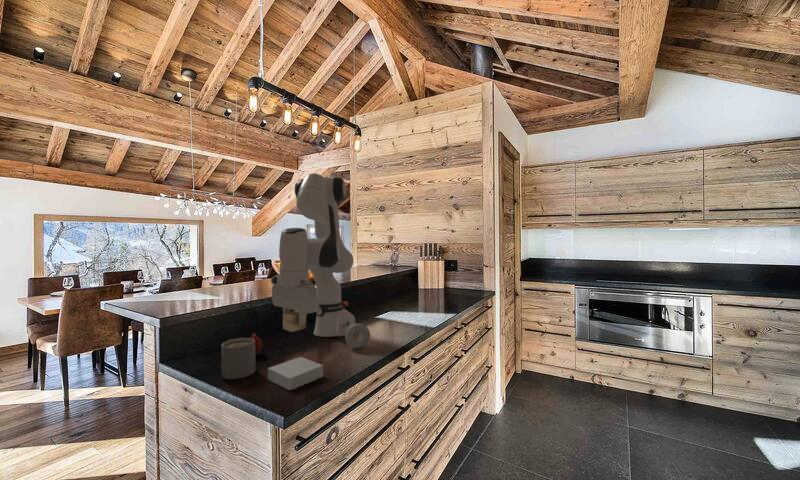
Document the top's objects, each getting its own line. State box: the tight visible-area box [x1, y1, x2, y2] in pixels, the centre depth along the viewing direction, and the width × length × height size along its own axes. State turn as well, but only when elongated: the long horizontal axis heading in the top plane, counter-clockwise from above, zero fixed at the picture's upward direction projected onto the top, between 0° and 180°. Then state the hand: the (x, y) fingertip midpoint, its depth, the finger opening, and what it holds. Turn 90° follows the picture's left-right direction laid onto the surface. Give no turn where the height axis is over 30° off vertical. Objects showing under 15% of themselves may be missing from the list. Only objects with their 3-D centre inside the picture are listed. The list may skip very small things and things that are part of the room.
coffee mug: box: [220, 337, 256, 380], centre depth 109 cm, size 13×10×10 cm
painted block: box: [267, 356, 324, 391], centre depth 102 cm, size 12×12×4 cm
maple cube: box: [282, 310, 307, 333], centre depth 102 cm, size 5×5×5 cm
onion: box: [250, 333, 263, 356], centre depth 123 cm, size 6×6×8 cm
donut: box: [344, 322, 371, 349], centre depth 129 cm, size 10×4×10 cm, turn 102°
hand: (294, 323), depth 102 cm, fingers closed on maple cube, 5 cm apart
